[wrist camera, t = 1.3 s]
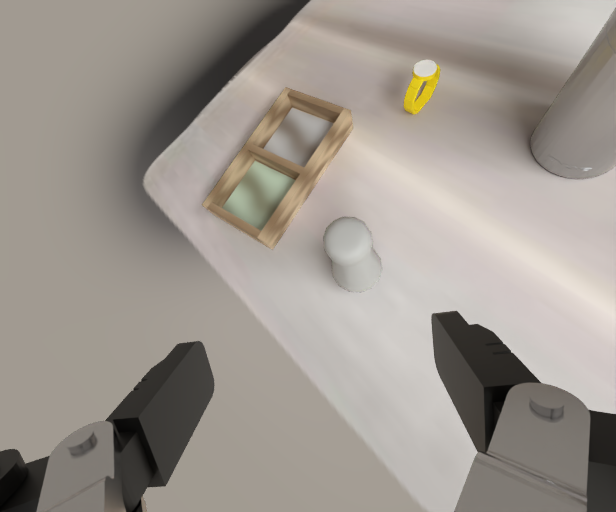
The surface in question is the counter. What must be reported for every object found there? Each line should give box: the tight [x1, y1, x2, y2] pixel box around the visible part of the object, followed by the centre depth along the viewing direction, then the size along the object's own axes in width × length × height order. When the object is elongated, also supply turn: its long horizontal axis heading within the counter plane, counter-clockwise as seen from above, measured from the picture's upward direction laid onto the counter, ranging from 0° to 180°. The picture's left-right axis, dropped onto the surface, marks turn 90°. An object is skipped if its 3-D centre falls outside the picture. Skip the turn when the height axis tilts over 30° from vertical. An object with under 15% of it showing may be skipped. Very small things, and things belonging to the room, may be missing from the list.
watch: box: [404, 60, 440, 114], centre depth 41 cm, size 6×3×6 cm, turn 140°
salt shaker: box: [323, 217, 382, 293], centre depth 32 cm, size 6×6×13 cm
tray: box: [202, 87, 353, 250], centre depth 44 cm, size 21×11×4 cm, turn 147°
